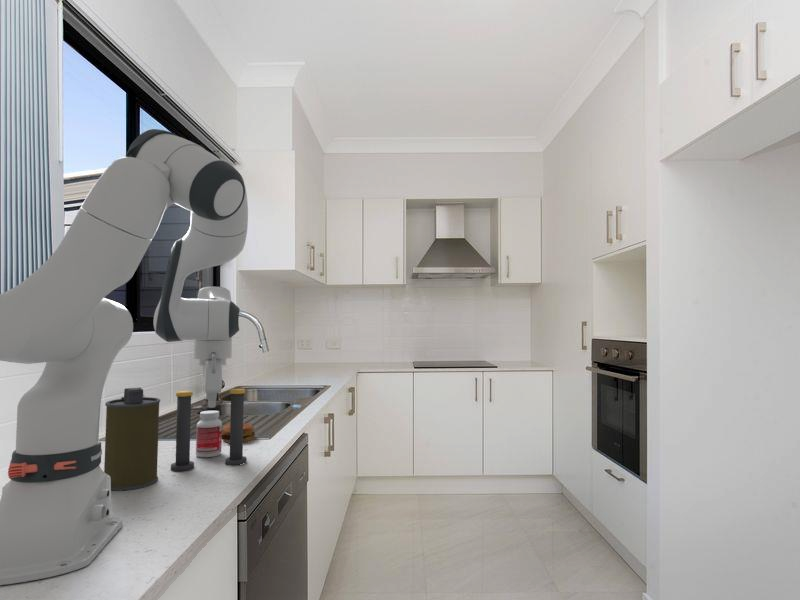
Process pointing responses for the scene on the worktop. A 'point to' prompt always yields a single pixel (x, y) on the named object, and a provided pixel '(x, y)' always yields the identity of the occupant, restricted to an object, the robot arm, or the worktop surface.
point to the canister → (132, 440)
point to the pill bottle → (209, 435)
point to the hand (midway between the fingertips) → (211, 406)
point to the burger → (247, 433)
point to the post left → (183, 432)
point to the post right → (236, 428)
